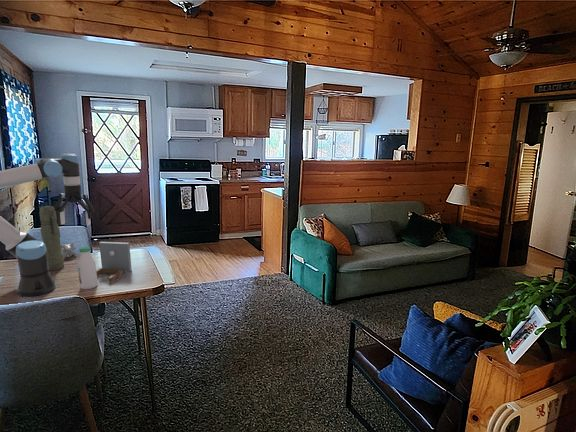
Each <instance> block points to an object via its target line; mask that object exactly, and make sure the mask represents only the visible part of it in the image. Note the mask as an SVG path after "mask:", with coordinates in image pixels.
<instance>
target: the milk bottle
mask: <svg viewBox="0 0 576 432" xmlns="http://www.w3.org/2000/svg"><path fill="white" fill-rule="evenodd" d="M79 254H80V256H79V258H78V259H79V260H78V262H77V272H78V279H79V287H80V289H82V290H90V289H95V288H96V287H97V286H98V277H97V273H96V270H97V266H96V262H95V260H94V258H93V255H92V254H91V247H89V246H82V247H80V248H79Z"/></svg>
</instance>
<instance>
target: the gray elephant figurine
mask: <svg viewBox="0 0 576 432" xmlns="http://www.w3.org/2000/svg"><path fill="white" fill-rule="evenodd" d="M60 245H61V252H62V254H63V259H64V260H65V259H66V258H67V256H69V257H70V256H74V258H77V257H78V254H77V253H76V252H75V251H74V250H76V246H74V243H73V242H71V243H66V244H60Z"/></svg>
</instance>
